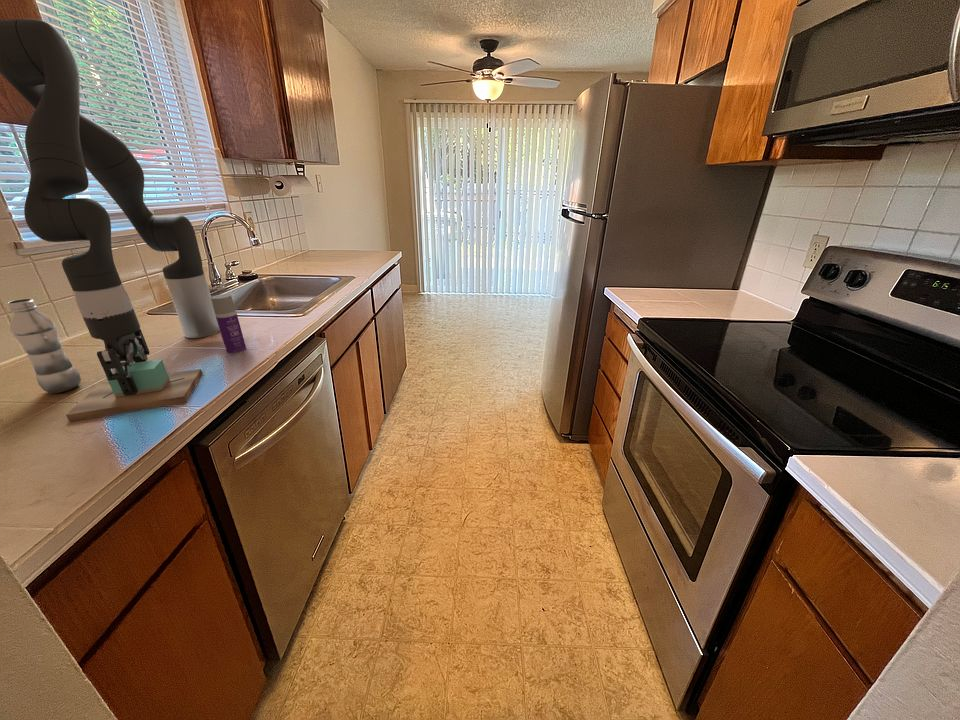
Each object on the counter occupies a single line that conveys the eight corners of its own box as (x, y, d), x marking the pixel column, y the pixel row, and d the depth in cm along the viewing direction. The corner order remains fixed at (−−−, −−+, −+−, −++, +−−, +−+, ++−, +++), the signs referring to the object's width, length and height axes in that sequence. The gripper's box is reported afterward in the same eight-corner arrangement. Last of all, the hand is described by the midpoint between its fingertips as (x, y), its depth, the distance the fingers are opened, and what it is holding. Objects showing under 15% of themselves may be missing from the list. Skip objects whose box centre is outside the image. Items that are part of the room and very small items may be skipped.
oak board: (103, 388, 87) (100, 382, 87) (203, 374, 93) (201, 368, 93) (69, 421, 75) (65, 414, 75) (186, 402, 81) (183, 395, 81)
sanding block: (125, 386, 85) (116, 365, 83) (170, 380, 87) (162, 359, 85) (115, 397, 81) (105, 375, 78) (162, 390, 83) (153, 368, 81)
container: (237, 355, 103) (221, 299, 97) (222, 354, 104) (205, 298, 98) (250, 348, 108) (235, 294, 101) (235, 347, 109) (220, 293, 102)
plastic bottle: (49, 399, 83) (0, 307, 75) (39, 391, 87) (-9, 302, 78) (89, 387, 88) (47, 299, 80) (78, 380, 92) (37, 295, 83)
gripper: (101, 302, 82) (131, 374, 88) (62, 324, 69) (101, 405, 76) (145, 298, 84) (171, 369, 91) (115, 318, 72) (148, 398, 78)
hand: (139, 385), depth 83 cm, fingers open, 7 cm apart
